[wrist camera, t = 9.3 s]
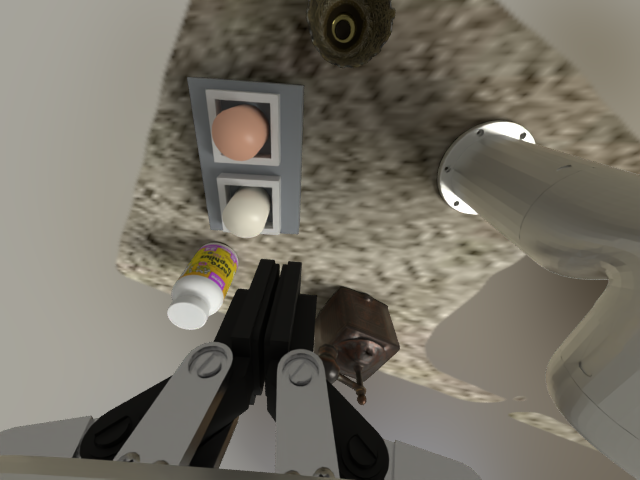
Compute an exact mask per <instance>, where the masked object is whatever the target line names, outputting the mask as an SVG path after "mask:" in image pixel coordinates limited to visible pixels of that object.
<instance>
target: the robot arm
mask: <svg viewBox="0 0 640 480" xmlns="http://www.w3.org/2000/svg"><path fill="white" fill-rule="evenodd" d="M478 131H479V132H478ZM477 132H478V133H477ZM445 167H446V169H445ZM437 181H438V188H439V192H440V194H441V196H442V198H443V199H444V200H445V202H446V203H447V204H448V205H449V206H451V207H452V208H453V209H455V210H457V211H459V212H462V213H466V214H479V215H480V216H481V217H482V218H483V219H484V220H486V221H487V222H488V223H489V224H490V225H492V226H493V227H494V228H495V229H496V230H498V231H499V232H500V233H501V234H502V235H504V236H505V237H506V238H507V239H508V240H509V241H511V242H512V243H513V244H514V245H515V246H517V247H518V248H519V249H520V250H521V251H523V252H524V253H525V254H526V255H528V256H529V257H530V258H531V259H533V260H534V261H535V262H536V263H538V264H539V265H540V266H542V267H543V268H545V269H547V270H549V271H551V272H553V273H556V274H559V275H562V276H565V277H571V278H577V279H593V280H594V279H595V280H596V279H597V280H599V279H600V280H604V279H609V282H608V285H607V288H606V290H605V291H604V292H603V294H602V295H601V296H600V298H599V299H598V300H597V301H596V302H595V304H594V307H593V308H592V309H591V310H590V311H589V313H588V314H587V315H586V316H585V317H584V319H583V320H582V321H581V322H580V323H579V324H578V325H577V327H576V328H575V329H574V330H573V331H572V332H571V334H570V335H569V336H568V337H567V338H566V339H565V341H564V342H563V343H562V344H561V345H560V347H559V348H558V349H557V350H556V352H555V353H554V355H553V356H552V357H551V359H550V361H549V363H548V365H547V369H546V377H545V378H546V385H547V389H548V392H549V394H550V396H551V398H552V400H553V402H554V404H555V405H556V407H557V408H558V410H559V411H560V412H561V414H562V415H563V416H564V417H565V419H566V420H567V421H568V422H569V423H570V424H571V425H572V426H573V428H574V429H575V430H576V431H577V432H578V433H579V434H580V435H582V436H583V437H584V438H585V439H586V440H587V441H588V442H589V443H590V444H591V445H593V446H594V447H595V448H596V449H597V450H599V451H600V452H601V453H602V454H604V455H605V456H607V458H609V459H610V460H611V461H613V462H614V463H615V464H617V465H618V466H619V467H621V468H622V469H623V470H625V471H626V472H627V473H629V474H630V475H632V476H633V477H634V478H636V479H637V480H640V175H638V174H635V173H631V172H628V171H624V170H621V169H617V168H614V167H611V166H607V165H604V164H601V163H597V162H594V161H591V160H587V159H584V158H581V157H577V156H574V155H571V154H567V153H564V152H561V151H557V150H554V149H550V148H547V147H544V146H540V145H537V144H535V141H534V138H533V137H532V135H531V134H530V132H529V131H528V130H527V129H525V128H524V127H523V126H521V125H519V124H517V123H513V122H509V121H501V120H496V121H489V122H485V123H482V124H479V125H477V126H475V127H473V128H471V129H469V130H468V131H466V132H465V133H463V134H462V135H461V136H459V137H458V138H457V139H456V140H455V141H454V142H453V143H452V145H451V146H450V147H449V149H448V150H447V151H446V153H445V155H444V157H443V159H442V161H441V164H440V167H439V170H438V177H437ZM301 268H302V262H291V261H289V262H288V265H286V264H283V266H282V270H281V274H280V265H279V264H275V260H268V259H261V260H260V263H259V265H258V268H257V270H256V273H255V275H254V278H253V281H252V283H251V286H250V288H249V290H247V289H238V290H237V291H236V293H235V295H234V297H233V300H232V302H231V304H230V306H229V308H228V311H227V313H226V315H225V318H224V320H223V322H222V324H221V326H220V329H219V331H218V333H217V336H216V337H215V340H214V342H209V343H204V344H202V345H200V346H198V347H196V348H195V349H193V350H192V351H191V352H190V353H189V354H188V355H187V356H186V357H185V359H184V360H183V362H182V363H181V365H180V366H179V367H178V369H177V370H176V372H175V373H174V374H173V375H172V376H170V377H169V378H167V379H165V380H163V381H162V382H160V383H158V384H156V385H154V386H153V387H151V388H149V389H147V390H146V391H144V392H142V393H140V394H139V395H137V396H135V397H133V398H132V399H130V400H128V401H127V402H124V403H123V404H121V405H119V406H118V407H115V408H114V409H112V410H110V411H108V412H107V413H106V414H104V415H103V416H101V417H100V418H96V419H93V418H92V416H86V417H80V418H73V419H67V420H60V421H54V422H47V423H40V424H34V425H27V426H20V427H14V428H11V429H8V430H5V431H2V432H0V480H481V478H480V476H479V475H477V473H476V472H475V471H474V470H472V469H471V468H470V467H469V466H467V465H465V464H463V463H461V462H458V461H455V460H453V459H450V458H447V457H444V456H441V455H438V454H435V453H432V452H429V451H426V450H424V449H421V448H418V447H415V446H412V445H409V444H406V443H403V442H400V441H397V440H395V442H394V443H393V442H391V441H388V440H385V439H382V437H381V436H380V435H379V433H378V432H377V431H376V430H375V429H374V428H373V427H372V426H371V425H370V424H369V423H368V422H367V421H366V420H365V419H364V418H363V416H362V415H361V414H360V413H359V412H358V411H357V410H356V409H355V408H354V407H353V406H352V405H351V404H350V403H349V402H348V401H347V400H346V399H345V398H344V397H343V396H342V395H341V394H340V393H339V391H337V389H336V388H335V387H334V386H333V385H332V384H331V383H330V382H329V381H328V380H327V379H326V377H325V370H324V366H323V362H322V360H321V359H320V358H319V356H318V355H316V354H315V353H314V352H313V348H314V332H315V317H316V301H317V295H306V294H300V284H301ZM264 382H265V394H266V396H267V410H268V412H269V413H270V415H271V416H272V418H273V419H274V420H275V422H276V452H275V473H265V472H254V471H253V472H252V471H240V470H228V469H219V467H220V464H221V461H222V459H223V457H224V455H225V452H226V450H227V447H228V445H229V443H230V440H231V438H232V435H233V433H234V431H235V428H236V426H237V423H238V420H239V415H241V414H242V413H243V412H245V411H246V410H247V409H248V408H249V405H254V402H255V398H256V395H261V394H262V391H263V386H264Z"/></svg>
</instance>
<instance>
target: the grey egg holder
mask: <svg viewBox="0 0 640 480" xmlns="http://www.w3.org/2000/svg"><path fill="white" fill-rule="evenodd" d="M187 80H188V86H189V93H190V99H191V106H192V112H193V119H194V125H195V132H196V138H197V145H198V151H199V158H200V164H201V171H202V177H203V184H204V190H205V197H206V203H207V210H208V216H209V223H210V229H211V230H223V232H230V231H229V230H228V229H227V228H226V227H225V225H224V223H223V219H222V214H223V210H224V208H225V207H226V205H227V204H228V202H229V201H230V200H231V198H232V197H233V195H234V194H235V192H236V191H237V190H238V189H239V188H240V187H242V186H254V187H261V188H263V189H264V190H265V191H266V192H267V193H268V194H269V196H270V199H271V209H270V212H269V215H268V218H267V220H266V223H265V226H264V229H263V230H262V232H261V233H260V234H273V235H279V234H280V233H284V234H298V233H299V224H300V199H301V168H302V138H303V107H304V85H295V84H282V83H269V82H255V81H242V80H229V79H216V78H203V77H187ZM241 104H249V105H253V106H255V107H257V108H258V109H259V110H261V111H262V112H263V114H264V115H265V116H266V118H267V120H268V123H269V136H268V139H267V141H266V143H265V144H264V145H263V146H262V148H261V149H260V150H259V152H258V153H257V154H256V155H255V156H254V157H253V158H251V159H249V160H245V161H236V160H232V159H230V158H228V157H226V156H225V155H223V154H222V153H221V152H220V151H219V150H218V148H217V147H216V145H215V143H214V141H213V138H212V124H213V121H214V119H215V118H216V116H217V115H218V114H219V113H221V112H222V111H224V110H227V109H229V108H232V107H235V106H238V105H241Z"/></svg>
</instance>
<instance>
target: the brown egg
mask: <svg viewBox="0 0 640 480" xmlns="http://www.w3.org/2000/svg"><path fill="white" fill-rule="evenodd" d="M268 136H269V123H268V120H267V118H266V116H265V115H264V114H263V112H262V111H261V110H259V109H258V108H257V107H255V106H253V105H249V104H241V105H238V106H235V107H232V108H229V109H227V110H224V111H222V112H221V113H219V114H218V115H217V116H216V118H215V119H214V121H213V124H212V138H213V141H214V143H215V145H216V147H217V148H218V150H219V151H220V152H221V153H222V154H223V155H225V156H226V157H228V158H230V159H232V160H236V161H245V160H249V159H251V158H253V157H254V156H255V155H256V154H257V153H258V152H259V150H260V149H261V148H262V146H263V145H264V144H265V143H266V141H267V139H268Z"/></svg>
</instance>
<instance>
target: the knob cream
mask: <svg viewBox="0 0 640 480" xmlns="http://www.w3.org/2000/svg"><path fill="white" fill-rule="evenodd" d="M270 209H271V199H270V196H269V194H268V193H267V192H266V191H265V190H264V189H263V188H261V187H254V186H242V187H240V188H239V189H238V190H237V191H236V192H235V194H234V195H233V197H232V198H231V200H230V201H229V202H228V204H227V205H226V207H225V208H224V210H223V214H222V219H223V223H224V225H225V227H226V228H227V229H228V230H229V231H230V232H231V233H232V234H234V235H236V236H238V237H242V238H251V237H254V236H257V235H258V234H260V233H261V232H262V230H263V229H264V226H265V223H266V220H267V218H268V215H269V212H270Z"/></svg>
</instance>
